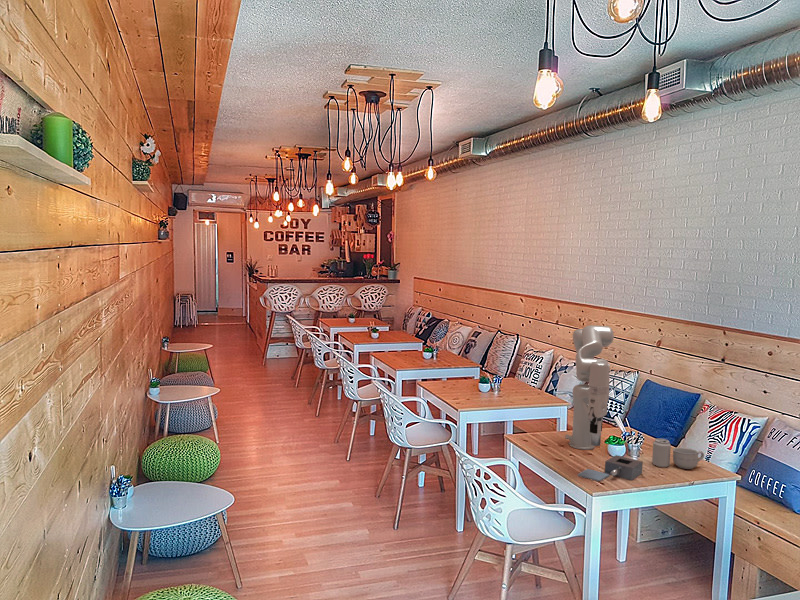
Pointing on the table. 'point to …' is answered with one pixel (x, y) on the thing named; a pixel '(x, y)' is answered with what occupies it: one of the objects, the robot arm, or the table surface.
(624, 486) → the table surface
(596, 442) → the grey tall cylinder
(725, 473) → the table surface
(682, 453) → the teacup
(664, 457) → the can
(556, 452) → the table surface
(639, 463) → the block
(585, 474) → the mat
